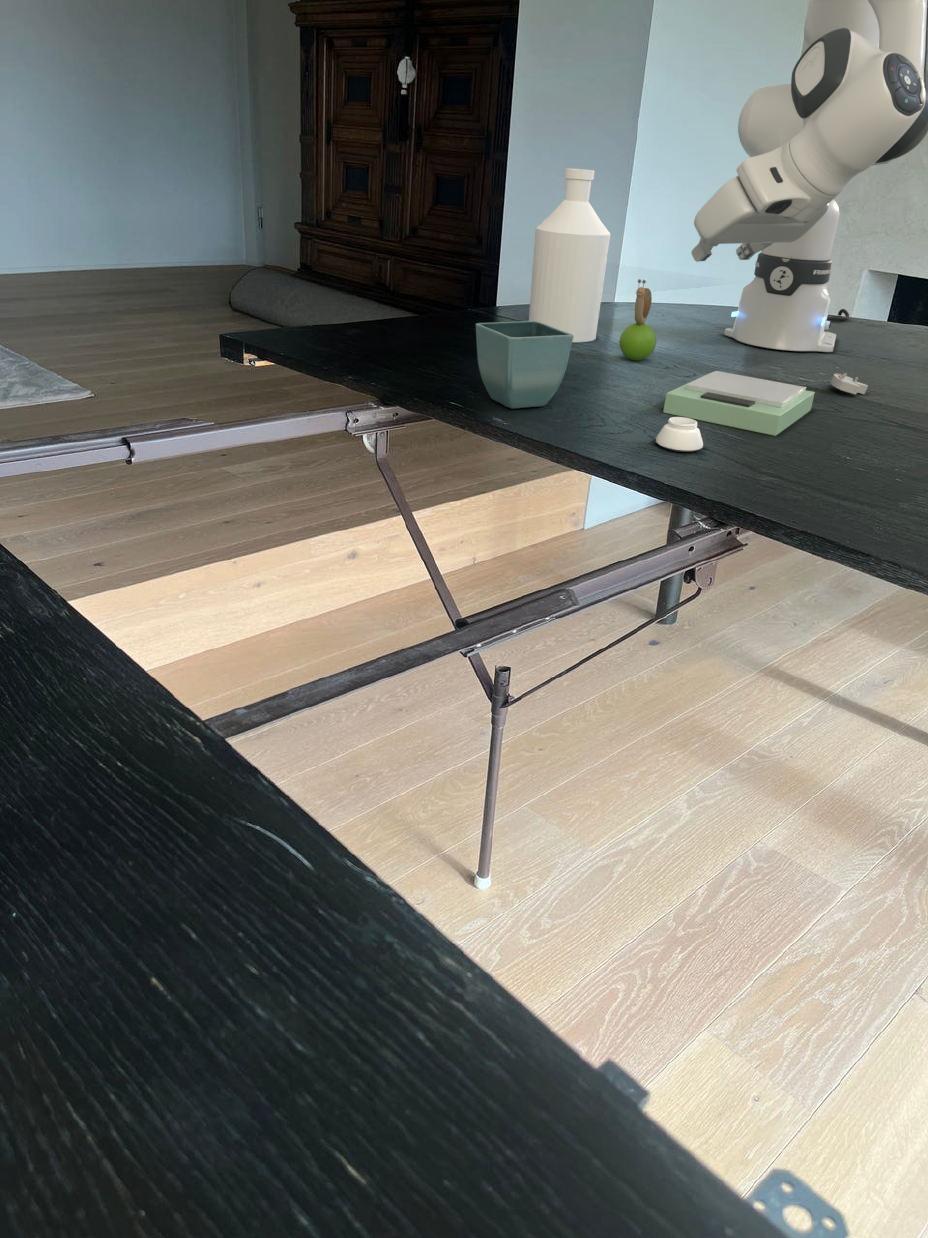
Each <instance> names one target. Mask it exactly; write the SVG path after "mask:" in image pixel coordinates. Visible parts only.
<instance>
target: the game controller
mask: <svg viewBox="0 0 928 1238" xmlns="http://www.w3.org/2000/svg"><path fill="white" fill-rule="evenodd" d="M858 380H859V377H858V376H855V378H853V377H851V376H848V374H847V372H843V374H842V373H838V372H837V373H833V376H832V378H831V380H830V383H827V384H829V385H832V386H833V387H834V388H835V389H838V390H840V391H843V392H845V393H849V394H852V395H857V394H861V395H865V394H866V392H867V389H868V387H869V385H868V384H865V383H862V382H859V381H858ZM812 381H813V379H811V380H810V382H812ZM820 381H822V382H823V380H822V379H820ZM790 382H791V383H793V381H792V380H790ZM781 383H784V380H783V381H781ZM796 385H797V386H799V383H798V384H797V383H796ZM801 385H802V386H803V385H805V384H801Z"/></svg>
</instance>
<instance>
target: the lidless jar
mask: <svg viewBox="0 0 928 1238" xmlns="http://www.w3.org/2000/svg"><path fill="white" fill-rule="evenodd" d="M667 422H668V423H666V424H664V425H663V426H662V428H661V429H660V431H659V432H658V434H657V435H656V438H655V443H657V444H658V445H659V446H661V447H662V448H664V449H666V450H669V451H672V452H680V453H692V452H696V451H699V450H701V449H703V448H704V442H703V438H702V434H701V431H700V430H701V429H700V428H698V421H697V420H696V419H692V418H687V417H683V416H673V417H672V416H671V417H669V418H668V420H667Z"/></svg>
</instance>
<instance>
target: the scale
mask: <svg viewBox="0 0 928 1238" xmlns="http://www.w3.org/2000/svg"><path fill="white" fill-rule="evenodd" d="M806 389H807V387H806V386H803V385H802V386H801V385H797V384H790V383H785V382H781V381H780V382H779V381H775V380H768V379H765V378H757V377H752V376H747V375H742V374H736V373H730V372H726V371H720V370H714V371H713V372H709V373H707V374H704V375H702V376H700V377H698V378H695V379H694V380H692V381H690V382H687V383H686V384H683V385H681V386H679V387H677V388H674V389H672V390H670V391H668V392H666V393H665V400H664V404H663V411H662V413H664V414H669V415H673V416H677V417H684V418H689V419H693V420H696V421H697V420H698V421H702V422H707V423H712V424H717V425H721V426H725V427H730V428H736V429H740V430H746V431H751V432H755V433H760V434H764V435H769V436H774V437H776V436H777V435H779V434H781V432H783V431H784V430H787V428H789V427H790V426H791V425H792V424H794V423H795V422H797V421H798V420H800V419H801V418H802V417H804V416H805V415H806V414H808V413H809V412H810V411H812V406H813V401H814V397H815V394H816V392H815V391H813V390H806Z"/></svg>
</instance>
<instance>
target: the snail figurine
mask: <svg viewBox="0 0 928 1238" xmlns="http://www.w3.org/2000/svg"><path fill="white" fill-rule="evenodd" d="M637 283H638V284H641V283H642V286H640V285H637V286H638V287H637V289H636V290H635V291H636V292H635V294H636V297H635V303H634V321H635V323H632V324H629V325H628V326H627V327H626V328H624V329H623V331H622V332H621V334H620V337H619V349H620V351H621V353H622V354H623V355H624V356H625V358H627V359H629V360H631V361H637V362H638V361H643V360H646V359H647V358H649V357H650V356H651V355H652V354H653V353H654V351H655V348H656V346H657V335H656V332H655V331H654V330H653V328H652V327H651V326H650V325H648V324H646V321H647V319H648V316H649V314H650V311H651V308H652V307H651V306H652V298H653V297H652V292H651V290H650V288H647V287H645V284H646V283H647V280H646V279H641V278H638V279H637Z"/></svg>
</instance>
